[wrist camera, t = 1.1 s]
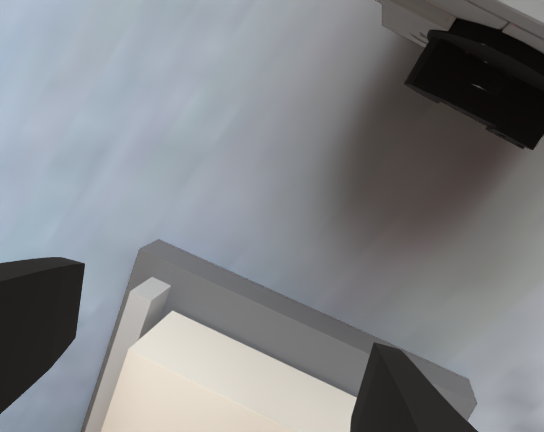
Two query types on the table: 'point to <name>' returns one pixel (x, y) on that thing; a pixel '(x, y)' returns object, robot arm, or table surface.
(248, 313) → the grey shallow rectangular tray
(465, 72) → the circuit breaker
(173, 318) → the breaker toggle
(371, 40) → the table surface
